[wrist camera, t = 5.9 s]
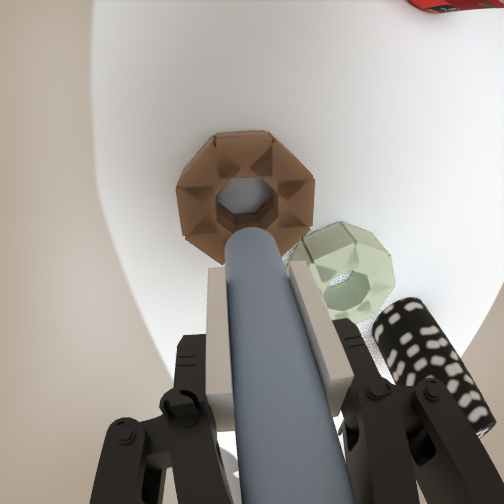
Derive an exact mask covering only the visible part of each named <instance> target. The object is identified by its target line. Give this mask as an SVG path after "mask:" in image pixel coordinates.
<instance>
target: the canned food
mask: <svg viewBox="0 0 504 504" xmlns="http://www.w3.org/2000/svg"><path fill="white" fill-rule="evenodd" d="M408 1H409V2H410V3H412V4H413V5H415V6H416V7H418V8H420V9H422V10H425V11H429V12H433V13H445V12H453V11H461V10H472V9H487V8H504V0H408Z"/></svg>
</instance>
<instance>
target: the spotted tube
mask: <svg viewBox="0 0 504 504" xmlns="http://www.w3.org/2000/svg"><path fill="white" fill-rule="evenodd" d="M372 335H373V338H374V340H375V342H376V344H377V346H378V348H379V350H380V352H381V354H382V356H383V358H384V360H385V363H386V365H387V367H388V369H389V371H390V373H391V375H392V377H393V380H394V382H395V384H396V385H399V386H417V385H418V383H419V382H420V381H421V380H423V379H425V378H429V377H430V378H436V379H438V380H440V381H442V382H443V383H444V384H445V385H446V387H447V388H448V390H449V391H450V393H451V394H452V396H453V398H454V399H455V401H456V402H457V404H458V405H459V407H460V408H461V410H462V412H463V413H464V415H465V416H466V418H467V420H468V421H469V423H470V424H471V426H472V428H473V429H474V431H475V433H476V434H477V436H478V438H479V439H480V438H481V437H482V436H484V435H485V434H486V433H487V432H489V430H491V429H492V428H493V427H494V426H495V424H496V423H497V422H496V420H495V418H494V416H493V414H492V412H491V411H490V408H489V407H488V405H487V403H486V401H485V399H484V397H483V396H482V394H481V392H480V390H479V389H478V387H477V385H476V383H475V382H474V380H473V378H472V377H471V375H470V373H469V372H468V370H467V368H466V367H465V366H464V363H463V362H462V360H461V359H460V357H459V355H458V354H457V352H456V351H455V349H454V348H453V346H452V344H451V343H450V341H449V340H448V338H447V337H446V335H445V334H444V332H443V331H442V329H441V328H440V326H439V325H438V324H437V322H436V321H435V319H434V318H433V316H432V315H431V313H430V312H429V311H428V309H427V308H426V306H425V305H424V304H423V302H422V301H421V300H419V299H418V298H405V299H402V300H399V301H397V302H395V303H393V304H392V305H390V306H389V307H387V308H386V309H385V310H384V311H383V312H382V313H381V314H380V315H379V316H378V318H377V319H376V321H375V323H374V325H373V328H372Z"/></svg>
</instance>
